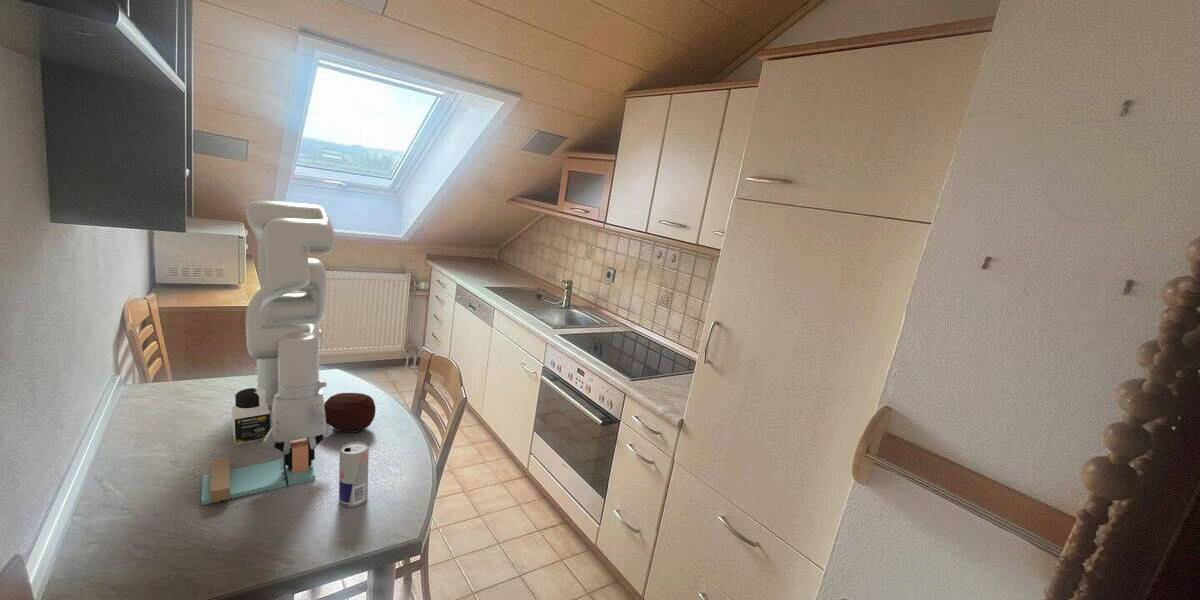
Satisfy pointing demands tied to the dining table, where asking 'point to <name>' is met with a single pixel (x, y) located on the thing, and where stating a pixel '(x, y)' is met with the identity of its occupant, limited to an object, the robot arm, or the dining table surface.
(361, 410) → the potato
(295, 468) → the stub
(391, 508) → the dining table surface
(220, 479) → the teal plate with bar
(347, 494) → the energy drink
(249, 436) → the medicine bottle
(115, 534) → the dining table surface
